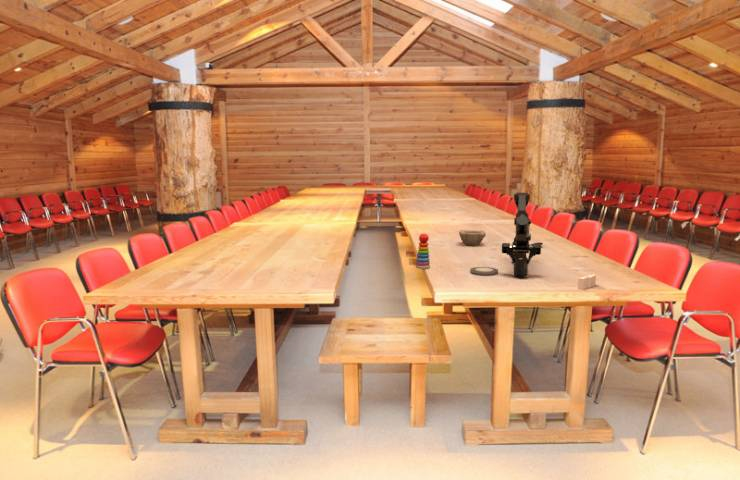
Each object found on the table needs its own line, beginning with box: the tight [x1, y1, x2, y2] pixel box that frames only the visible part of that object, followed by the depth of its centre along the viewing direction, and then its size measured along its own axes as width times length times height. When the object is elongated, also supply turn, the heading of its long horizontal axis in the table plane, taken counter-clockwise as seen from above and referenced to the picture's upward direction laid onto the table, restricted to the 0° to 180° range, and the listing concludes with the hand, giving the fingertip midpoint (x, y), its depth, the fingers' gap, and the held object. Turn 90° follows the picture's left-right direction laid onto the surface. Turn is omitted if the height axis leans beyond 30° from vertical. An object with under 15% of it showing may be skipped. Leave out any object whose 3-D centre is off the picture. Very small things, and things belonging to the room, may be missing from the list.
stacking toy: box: [414, 232, 431, 270], centre depth 291 cm, size 8×8×19 cm
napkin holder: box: [577, 273, 597, 290], centre depth 250 cm, size 15×11×6 cm
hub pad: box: [469, 266, 499, 277], centre depth 280 cm, size 14×14×2 cm
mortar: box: [458, 229, 487, 247], centre depth 360 cm, size 17×17×9 cm
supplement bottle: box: [513, 251, 529, 278], centre depth 268 cm, size 7×7×12 cm
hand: (520, 263), depth 267 cm, fingers closed on supplement bottle, 7 cm apart
